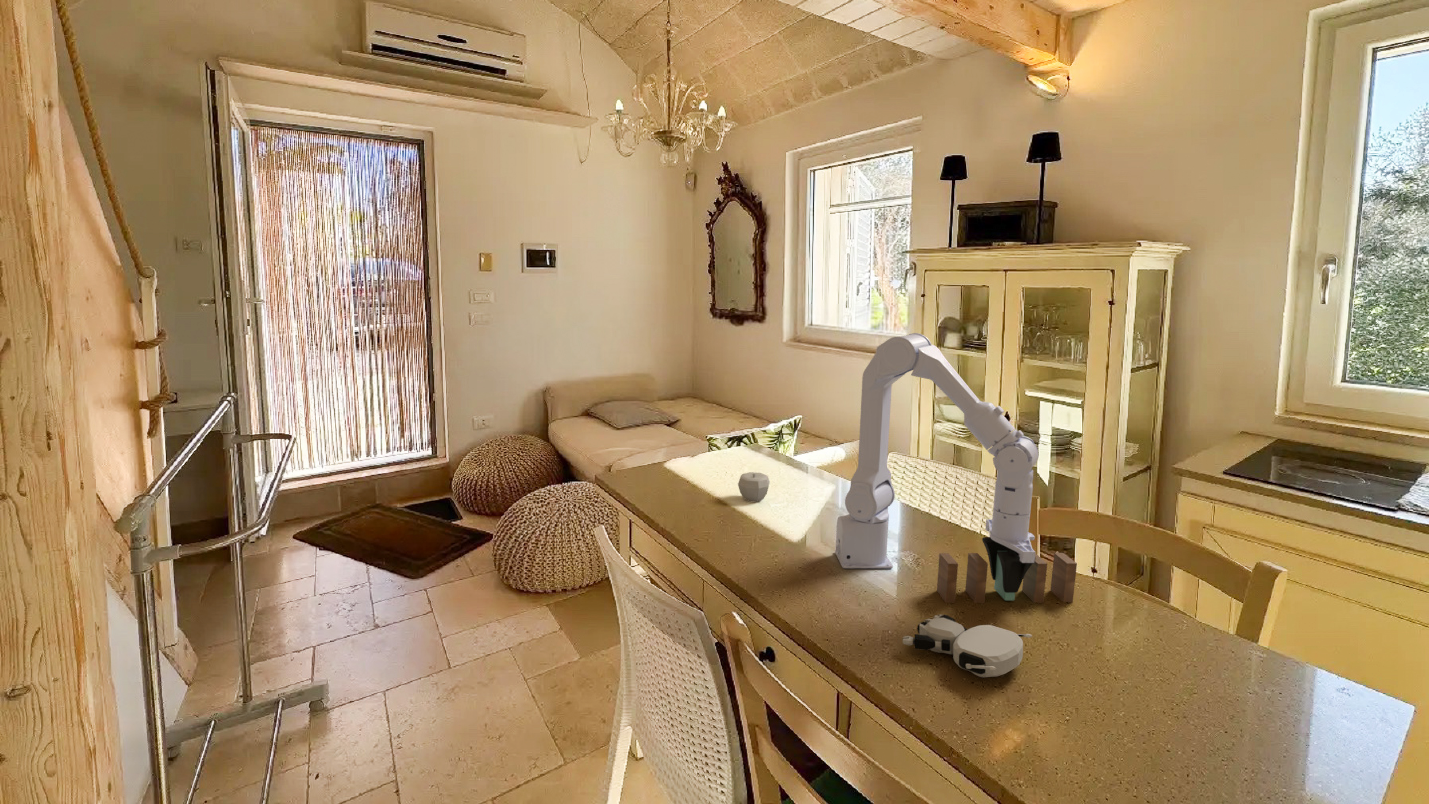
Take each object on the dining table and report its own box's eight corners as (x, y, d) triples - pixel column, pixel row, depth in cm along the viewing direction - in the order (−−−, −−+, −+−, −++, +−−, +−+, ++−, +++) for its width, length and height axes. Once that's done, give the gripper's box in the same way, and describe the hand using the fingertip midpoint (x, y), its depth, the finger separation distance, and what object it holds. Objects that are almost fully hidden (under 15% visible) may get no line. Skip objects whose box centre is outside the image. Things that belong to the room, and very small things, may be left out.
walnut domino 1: (945, 602, 117) (948, 563, 116) (936, 590, 121) (939, 553, 120) (955, 602, 117) (958, 563, 116) (945, 590, 121) (948, 553, 120)
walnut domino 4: (1063, 602, 117) (1067, 563, 116) (1050, 590, 122) (1054, 552, 120) (1072, 602, 117) (1076, 563, 116) (1059, 590, 122) (1063, 552, 120)
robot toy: (896, 659, 101) (998, 697, 91) (896, 630, 101) (999, 664, 90) (937, 630, 110) (1035, 661, 99) (937, 602, 109) (1036, 631, 99)
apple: (731, 501, 167) (731, 474, 166) (747, 492, 174) (747, 467, 173) (760, 507, 163) (761, 480, 162) (775, 498, 170) (776, 472, 168)
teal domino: (1003, 588, 121) (1006, 550, 120) (1014, 600, 117) (1018, 561, 116) (994, 588, 121) (997, 550, 120) (1004, 600, 117) (1008, 561, 116)
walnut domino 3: (1033, 602, 117) (1037, 563, 116) (1022, 590, 122) (1025, 552, 120) (1043, 602, 117) (1047, 563, 116) (1031, 590, 122) (1034, 552, 120)
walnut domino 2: (975, 602, 117) (978, 563, 116) (965, 590, 121) (968, 553, 120) (984, 602, 117) (987, 563, 116) (974, 590, 121) (977, 552, 120)
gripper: (1057, 525, 109) (1048, 605, 112) (1015, 495, 124) (1009, 567, 126) (1012, 525, 109) (1005, 605, 112) (976, 495, 123) (970, 567, 126)
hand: (1004, 585), depth 119 cm, fingers closed on teal domino, 4 cm apart
